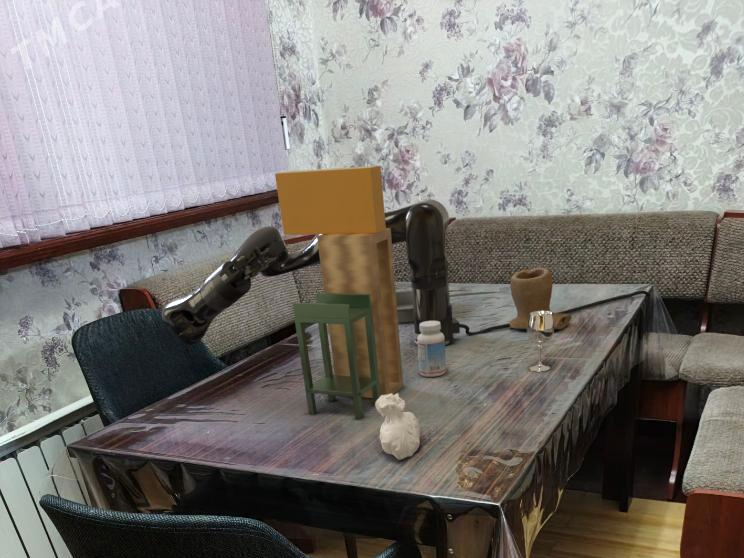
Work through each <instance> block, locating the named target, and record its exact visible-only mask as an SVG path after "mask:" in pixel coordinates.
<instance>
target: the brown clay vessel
mask: <svg viewBox="0 0 744 558" xmlns="http://www.w3.org/2000/svg"><path fill="white" fill-rule="evenodd" d="M509 287H510V288H509V289H510V293H511V299H512V300H513V302H514V306H515V308H516V317H514V318H513V319H512V320H510V321H509V322H508V324H509V325H510V327H509V328H511V329H515V330H527V324H528V319H529V315H530V313H531V312H535V311H550V312H552V310H551V306H550V305H551V299H552V293H553V276H552V273H551V271H549V269H548V268H545V267H534V268H532V269H523V270H520V271H517V272H516V273H514V274H513V275H511V278H510V281H509ZM552 316H553V321H554V330H563V329H564V328H565V327H566V326H567V325H568V324H569V323H570V321H571V320H572V314H571V313H568V314H559V313H558V312H552Z"/></svg>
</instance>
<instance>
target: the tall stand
mask: <svg viewBox="0 0 744 558" xmlns="http://www.w3.org/2000/svg"><path fill="white" fill-rule="evenodd" d="M317 241H318V248H319V256H320V264H319V265H320V271H321V279H322V287H323V293H348V294H370V297H371V307H372V313H373V324H374V334H375V344H376V354H377V365H378V375H379V385H380V395H388V394H391V393H392V394H393V395H395V394H397V393H398V392H399V391H401V389H403V388H404V378H403V365H402V355H401V342H400V341H401V340H400V328H399V323H398V315H397V303H396V292H397V291H396V279H395V267H394V265H395V264H394V255H393V245H392V240H391V228H386V230H384V231H382V232H379V233H367V234H322V235H319V236H317ZM327 325H328V332H329V342H330V348H331V349H330V350H331V357H332V365H333V370H334V372H333V373H334V375H340V376H350V369H349V361H348V352H347V344H346V335H345V327H344V324H327ZM353 330H354V339H355V348H356V357H357V366H358V375H359V377H366V378H371V374H370V365H369V355H368V345H367V336H366V326H365V317H363V318H361V319H359V320H357V321H355V322H354V323H353ZM361 398H367V399H373V394H372V388H370V389H369V390H367V391H366V392H364V393H363V394H362V395H361Z"/></svg>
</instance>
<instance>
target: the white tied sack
mask: <svg viewBox="0 0 744 558" xmlns="http://www.w3.org/2000/svg"><path fill="white" fill-rule="evenodd" d="M405 401H406V400H404V399H402V398H401V397H400V394H399V393H398V392H396V393H395V394H392V393H391V394H388V395H381V396H380V397H379V399H378V400H377V401H376V403H375V405H374V407H375V410H376V411H377V412H378V413H379V414H380V415H381V417H384V421H383V422H382V424H381V425H380V430H379V441H380V444H381V449H382V450H383V451H384V452H385V453H386V454H387V455H388V454H389V455H391V456H394V457H395V458H396V459H397V460H399V461H401V460H404V459H406V458H409V457H412V456H413V455H414V454H415V453H416V452H417V451H418V450H419V447H420V443H421V441H420V438H421V424H420V423H419V420H418V419H417V417H416V415H414V413H413V412H411V411H405V407H406V405H407V403H406V402H405Z"/></svg>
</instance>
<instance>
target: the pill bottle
mask: <svg viewBox="0 0 744 558" xmlns="http://www.w3.org/2000/svg"><path fill="white" fill-rule="evenodd" d="M419 328H420V329H419V330H420V332H421V334H420V335H419V336H418V338H417V344H418V346H417V356H418V366H419V367H418V369H419V374H420V375H421V376H422V377H425V378H434V377H440V376H443V375H445V374H446V372H447V359H446V358H447V357H446V345H445V339H444V335H443V333H441V332H440V330H441V329H440V328H441V324H440V322H439V321H425V322H422V323H420V324H419Z"/></svg>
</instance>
